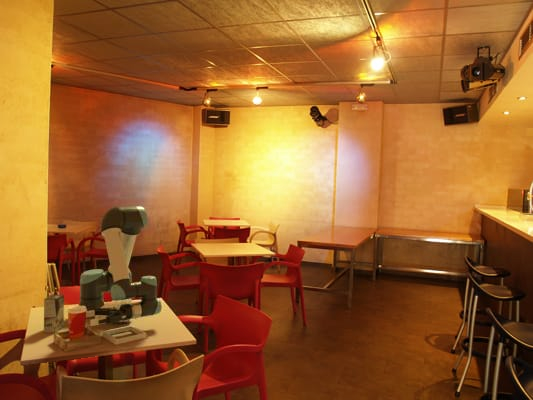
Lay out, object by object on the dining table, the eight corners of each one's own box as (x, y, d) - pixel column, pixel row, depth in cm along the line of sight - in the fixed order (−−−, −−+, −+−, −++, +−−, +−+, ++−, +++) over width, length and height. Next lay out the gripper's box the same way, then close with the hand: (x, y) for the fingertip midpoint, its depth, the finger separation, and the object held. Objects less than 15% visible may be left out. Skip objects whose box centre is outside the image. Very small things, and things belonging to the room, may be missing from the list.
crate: (53, 341, 204) (53, 333, 203) (87, 335, 214) (87, 326, 214) (65, 351, 193) (65, 342, 192) (99, 343, 203) (100, 335, 202)
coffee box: (57, 332, 216) (57, 299, 215) (43, 332, 215) (43, 299, 215) (64, 326, 225) (64, 294, 224) (50, 326, 225) (50, 294, 224)
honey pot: (130, 326, 231) (94, 331, 229) (134, 312, 243) (100, 317, 241) (125, 304, 226) (88, 309, 225) (129, 291, 239) (95, 296, 237)
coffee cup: (70, 337, 207) (70, 305, 206) (89, 337, 208) (89, 305, 207) (63, 344, 199) (64, 310, 198) (83, 344, 199) (83, 310, 199)
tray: (101, 335, 213) (102, 331, 213) (131, 329, 223) (131, 325, 223) (115, 344, 202) (115, 340, 202) (146, 337, 212) (146, 333, 212)
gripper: (141, 325, 210) (95, 334, 196) (119, 312, 229) (76, 320, 215) (141, 309, 210) (95, 317, 196) (119, 298, 228) (76, 304, 215)
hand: (85, 319), depth 205 cm, fingers open, 13 cm apart
